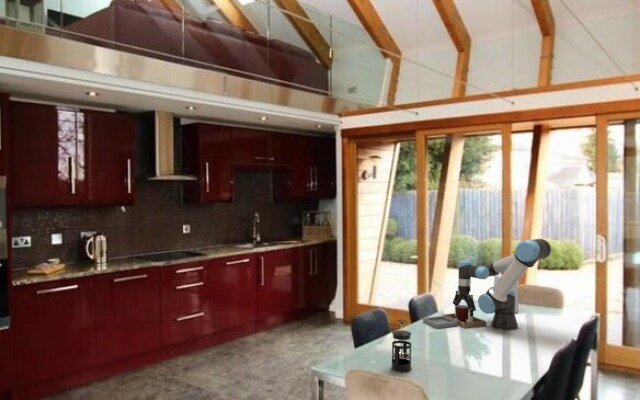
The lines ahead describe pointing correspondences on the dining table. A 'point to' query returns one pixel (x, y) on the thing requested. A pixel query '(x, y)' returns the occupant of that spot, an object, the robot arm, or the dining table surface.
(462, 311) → the mug
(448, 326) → the tray
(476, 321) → the brown wooden tray
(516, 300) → the plastic bottle
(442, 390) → the dining table surface
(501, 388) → the dining table surface
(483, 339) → the dining table surface
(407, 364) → the french press
